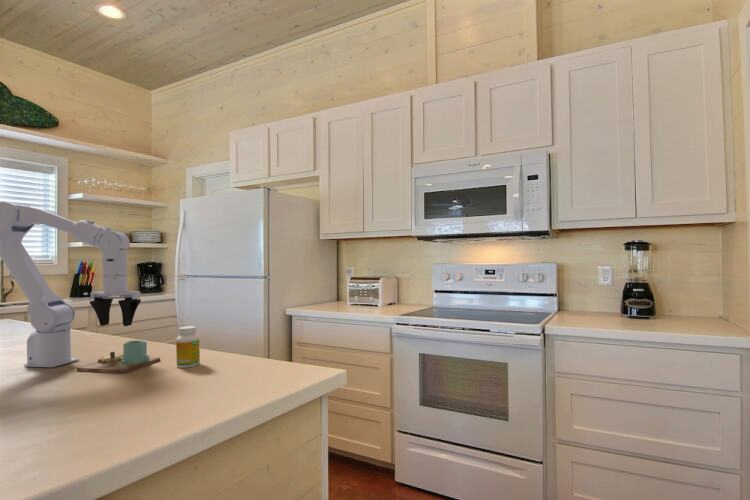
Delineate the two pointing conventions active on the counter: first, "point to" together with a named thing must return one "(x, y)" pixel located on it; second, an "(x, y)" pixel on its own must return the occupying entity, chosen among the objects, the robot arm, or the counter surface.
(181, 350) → the supplement bottle
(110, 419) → the counter surface
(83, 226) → the robot arm
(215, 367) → the counter surface
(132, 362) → the gear
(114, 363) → the gear board
